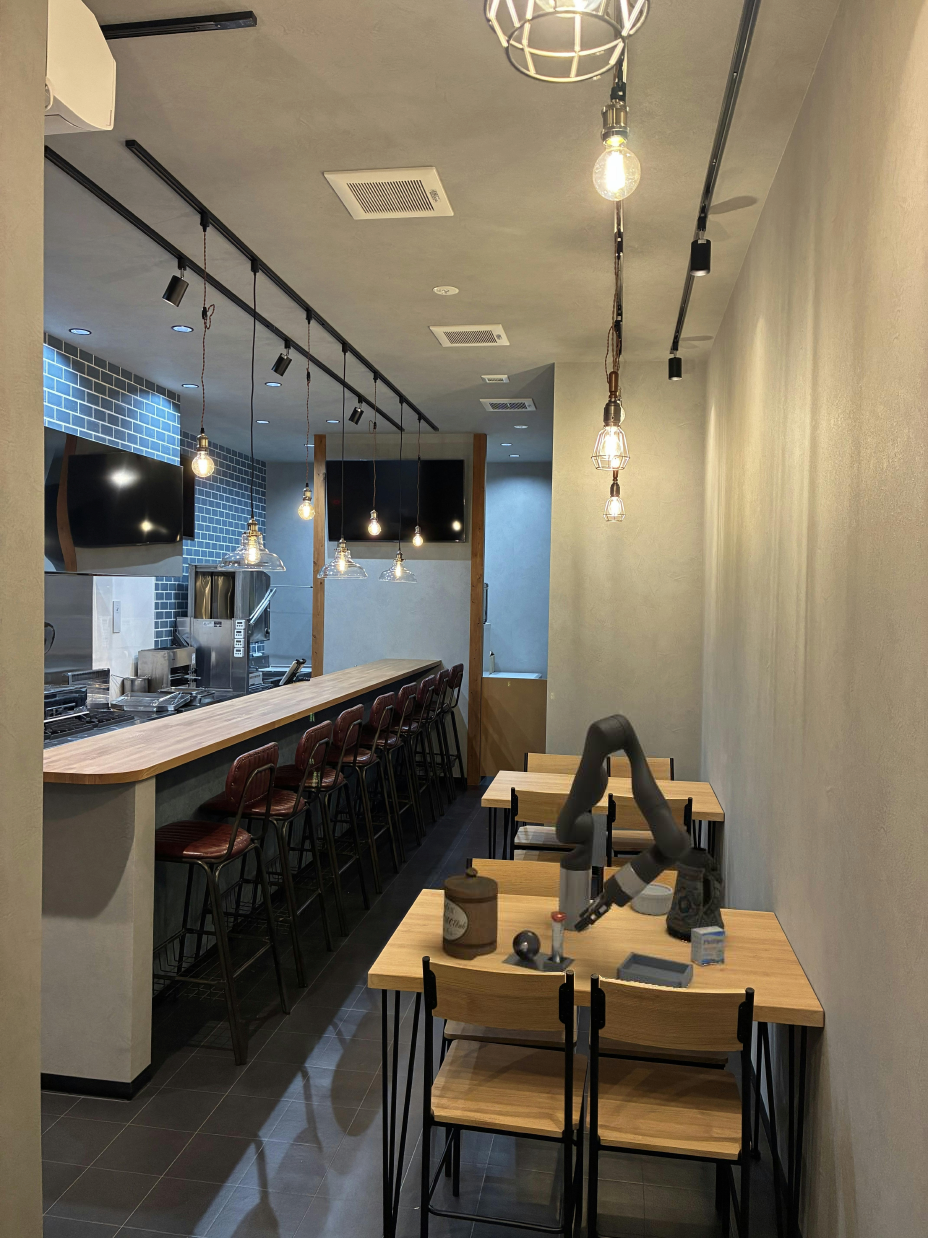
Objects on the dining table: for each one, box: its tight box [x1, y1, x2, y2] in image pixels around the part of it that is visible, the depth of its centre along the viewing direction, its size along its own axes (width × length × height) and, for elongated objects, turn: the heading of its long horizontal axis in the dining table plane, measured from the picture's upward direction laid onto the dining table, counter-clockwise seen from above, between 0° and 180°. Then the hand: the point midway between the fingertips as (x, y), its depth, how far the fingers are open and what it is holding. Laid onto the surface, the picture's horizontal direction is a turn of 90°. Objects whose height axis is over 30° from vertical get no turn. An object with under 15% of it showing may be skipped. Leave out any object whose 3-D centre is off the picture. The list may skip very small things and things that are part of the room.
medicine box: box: [690, 926, 726, 966], centre depth 232 cm, size 8×4×9 cm, turn 114°
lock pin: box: [550, 910, 566, 964], centre depth 224 cm, size 4×4×13 cm
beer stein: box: [665, 846, 726, 943], centre depth 252 cm, size 16×19×25 cm
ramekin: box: [630, 881, 674, 916], centre depth 273 cm, size 13×13×7 cm
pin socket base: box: [501, 929, 576, 973], centre depth 226 cm, size 12×16×8 cm
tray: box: [616, 951, 694, 989], centre depth 218 cm, size 13×16×4 cm
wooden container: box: [442, 866, 499, 961], centre depth 235 cm, size 15×15×22 cm
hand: (579, 924), depth 222 cm, fingers open, 8 cm apart
